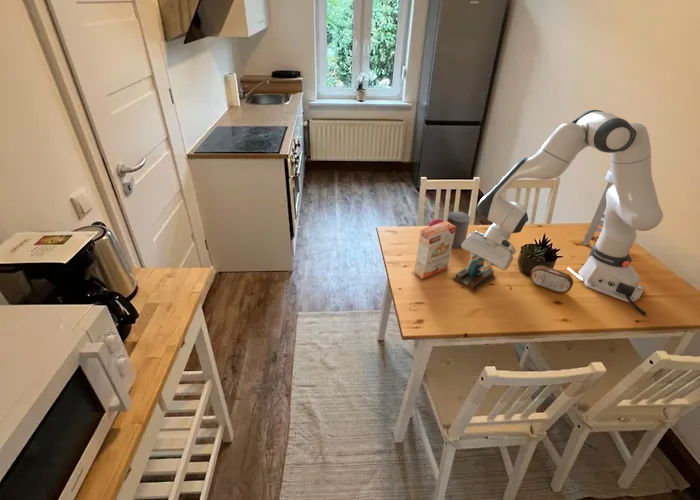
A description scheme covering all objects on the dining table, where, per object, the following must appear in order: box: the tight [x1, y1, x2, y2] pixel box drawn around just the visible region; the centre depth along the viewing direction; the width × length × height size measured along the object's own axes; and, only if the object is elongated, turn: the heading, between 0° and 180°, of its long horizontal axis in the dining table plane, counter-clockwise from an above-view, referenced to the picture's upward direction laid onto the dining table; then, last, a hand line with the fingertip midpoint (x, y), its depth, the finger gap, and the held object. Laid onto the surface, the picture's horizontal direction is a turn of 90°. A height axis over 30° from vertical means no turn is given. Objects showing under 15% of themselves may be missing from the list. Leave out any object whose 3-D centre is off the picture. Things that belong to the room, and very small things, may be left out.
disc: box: [468, 257, 485, 278], centre depth 153 cm, size 2×8×8 cm, turn 130°
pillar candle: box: [446, 211, 471, 249], centre depth 174 cm, size 10×10×15 cm
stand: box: [452, 265, 495, 292], centre depth 155 cm, size 10×14×3 cm
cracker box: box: [413, 220, 456, 280], centre depth 153 cm, size 14×6×21 cm, turn 123°
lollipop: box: [428, 218, 445, 227], centre depth 169 cm, size 8×8×15 cm
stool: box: [581, 167, 614, 246], centre depth 170 cm, size 16×16×35 cm
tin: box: [529, 265, 574, 294], centre depth 149 cm, size 15×3×8 cm, turn 56°
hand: (475, 268), depth 152 cm, fingers open, 4 cm apart
